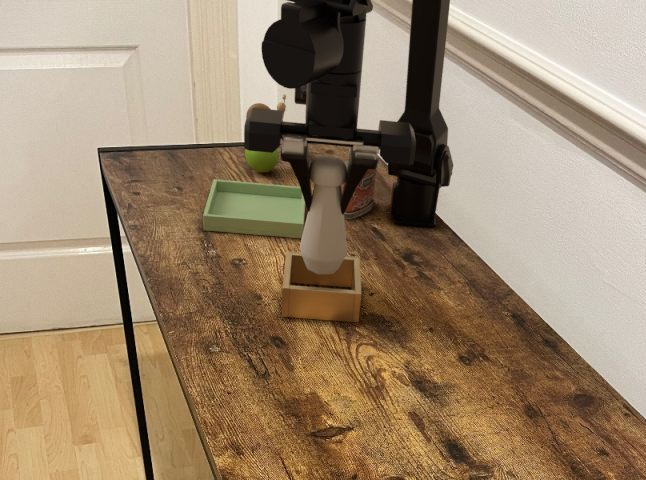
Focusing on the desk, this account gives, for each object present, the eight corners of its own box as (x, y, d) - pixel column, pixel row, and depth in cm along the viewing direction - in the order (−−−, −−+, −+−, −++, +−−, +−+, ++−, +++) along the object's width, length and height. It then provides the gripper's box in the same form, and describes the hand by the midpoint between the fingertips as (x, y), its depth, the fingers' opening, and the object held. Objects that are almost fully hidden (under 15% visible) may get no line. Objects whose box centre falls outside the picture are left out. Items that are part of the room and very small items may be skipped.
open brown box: (357, 285, 104) (360, 257, 101) (358, 322, 97) (361, 293, 95) (285, 279, 103) (286, 251, 101) (281, 317, 96) (282, 287, 94)
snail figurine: (282, 180, 127) (284, 100, 119) (243, 175, 127) (242, 96, 118) (285, 167, 131) (287, 90, 123) (247, 163, 131) (246, 85, 122)
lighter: (351, 221, 118) (357, 153, 111) (332, 214, 120) (337, 146, 113) (378, 205, 124) (385, 139, 117) (360, 199, 125) (366, 133, 118)
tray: (305, 201, 122) (306, 187, 120) (302, 238, 113) (303, 223, 111) (214, 193, 121) (213, 178, 119) (203, 230, 111) (202, 215, 110)
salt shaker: (325, 282, 94) (331, 174, 85) (289, 266, 97) (292, 158, 88) (354, 267, 98) (364, 161, 89) (319, 251, 100) (325, 146, 91)
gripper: (417, 54, 88) (399, 191, 99) (251, 36, 87) (252, 178, 97) (424, 84, 80) (405, 229, 91) (242, 65, 79) (244, 216, 89)
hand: (325, 211), depth 93 cm, fingers closed on salt shaker, 3 cm apart
